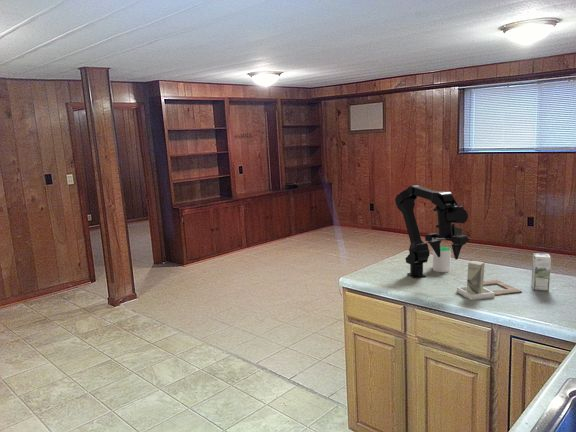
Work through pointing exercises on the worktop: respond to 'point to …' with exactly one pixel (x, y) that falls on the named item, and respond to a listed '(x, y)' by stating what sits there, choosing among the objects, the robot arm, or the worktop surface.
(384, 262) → the worktop surface
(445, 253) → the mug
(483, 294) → the white tray
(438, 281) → the worktop surface
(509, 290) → the walnut frame
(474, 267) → the box
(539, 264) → the syrup box
